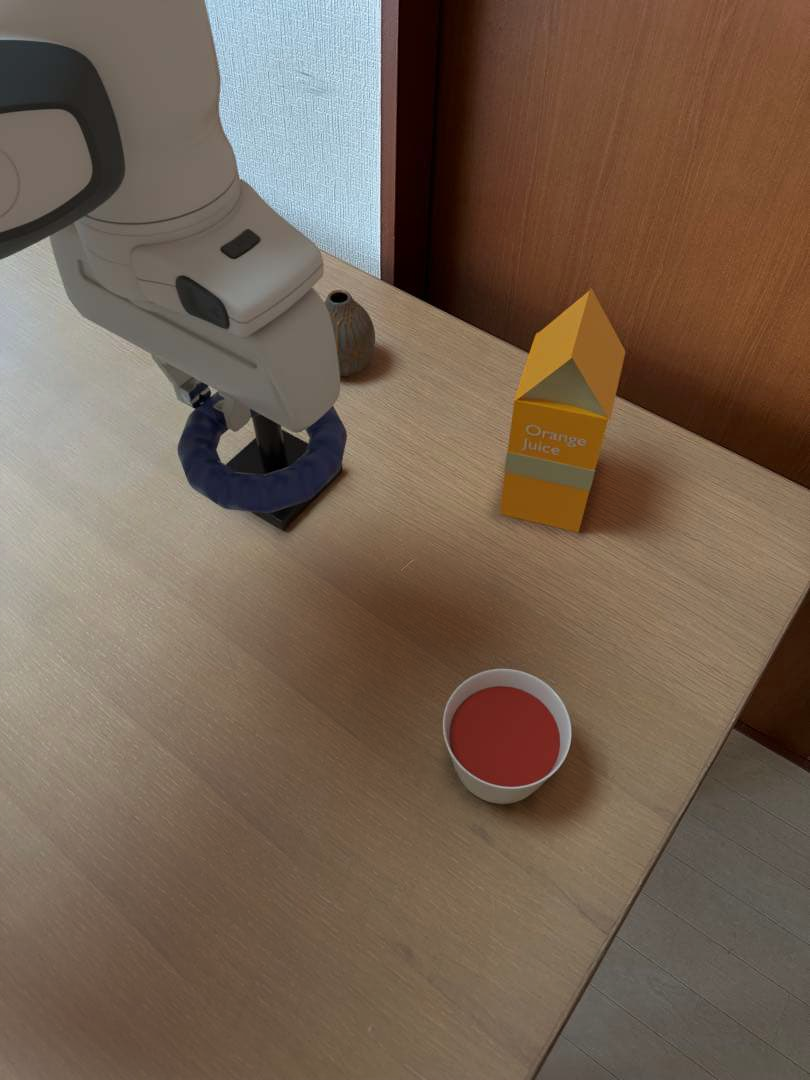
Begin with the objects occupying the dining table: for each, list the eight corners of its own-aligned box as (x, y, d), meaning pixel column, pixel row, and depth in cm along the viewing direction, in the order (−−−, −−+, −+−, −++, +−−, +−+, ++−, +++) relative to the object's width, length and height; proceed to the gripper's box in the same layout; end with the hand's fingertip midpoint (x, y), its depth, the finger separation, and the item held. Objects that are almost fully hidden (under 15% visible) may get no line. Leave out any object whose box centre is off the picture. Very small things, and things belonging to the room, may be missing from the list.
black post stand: (283, 531, 77) (265, 445, 68) (212, 489, 80) (185, 401, 71) (343, 471, 81) (334, 383, 72) (273, 433, 84) (256, 344, 75)
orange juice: (497, 514, 78) (519, 346, 62) (518, 448, 83) (543, 277, 67) (580, 533, 76) (625, 367, 60) (596, 464, 81) (641, 294, 65)
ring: (271, 547, 51) (266, 524, 49) (149, 467, 55) (140, 443, 53) (378, 443, 56) (377, 418, 54) (260, 376, 60) (255, 351, 58)
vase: (353, 393, 88) (348, 327, 81) (300, 371, 90) (290, 303, 83) (388, 356, 91) (386, 289, 84) (336, 335, 93) (330, 268, 86)
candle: (462, 691, 67) (466, 652, 62) (571, 729, 65) (585, 692, 60) (423, 793, 62) (424, 760, 57) (540, 838, 60) (552, 808, 55)
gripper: (-6, 192, 47) (75, 376, 58) (265, 327, 40) (299, 508, 51) (80, 144, 50) (142, 328, 61) (347, 261, 43) (362, 446, 54)
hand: (215, 411), depth 56 cm, fingers closed on ring, 2 cm apart
